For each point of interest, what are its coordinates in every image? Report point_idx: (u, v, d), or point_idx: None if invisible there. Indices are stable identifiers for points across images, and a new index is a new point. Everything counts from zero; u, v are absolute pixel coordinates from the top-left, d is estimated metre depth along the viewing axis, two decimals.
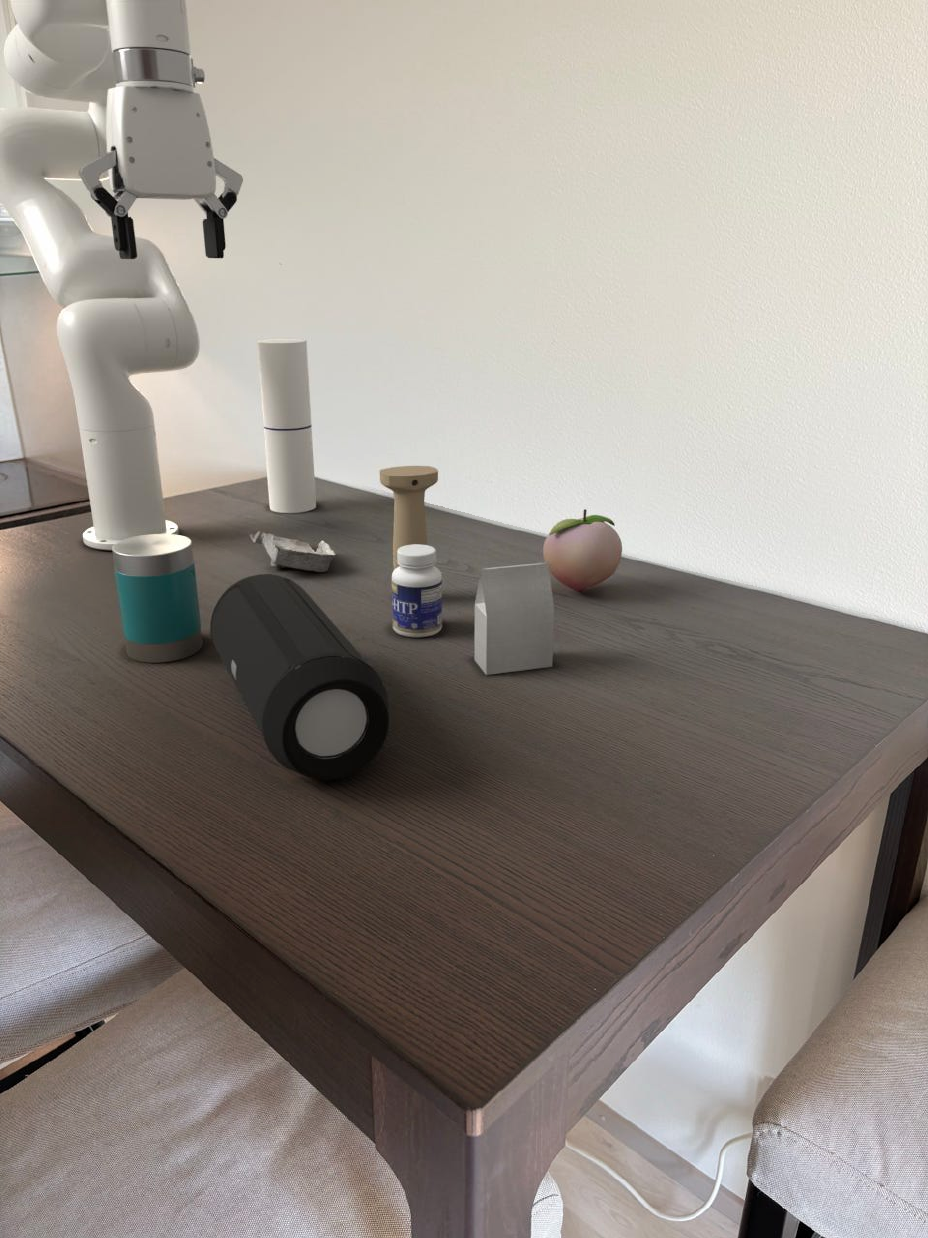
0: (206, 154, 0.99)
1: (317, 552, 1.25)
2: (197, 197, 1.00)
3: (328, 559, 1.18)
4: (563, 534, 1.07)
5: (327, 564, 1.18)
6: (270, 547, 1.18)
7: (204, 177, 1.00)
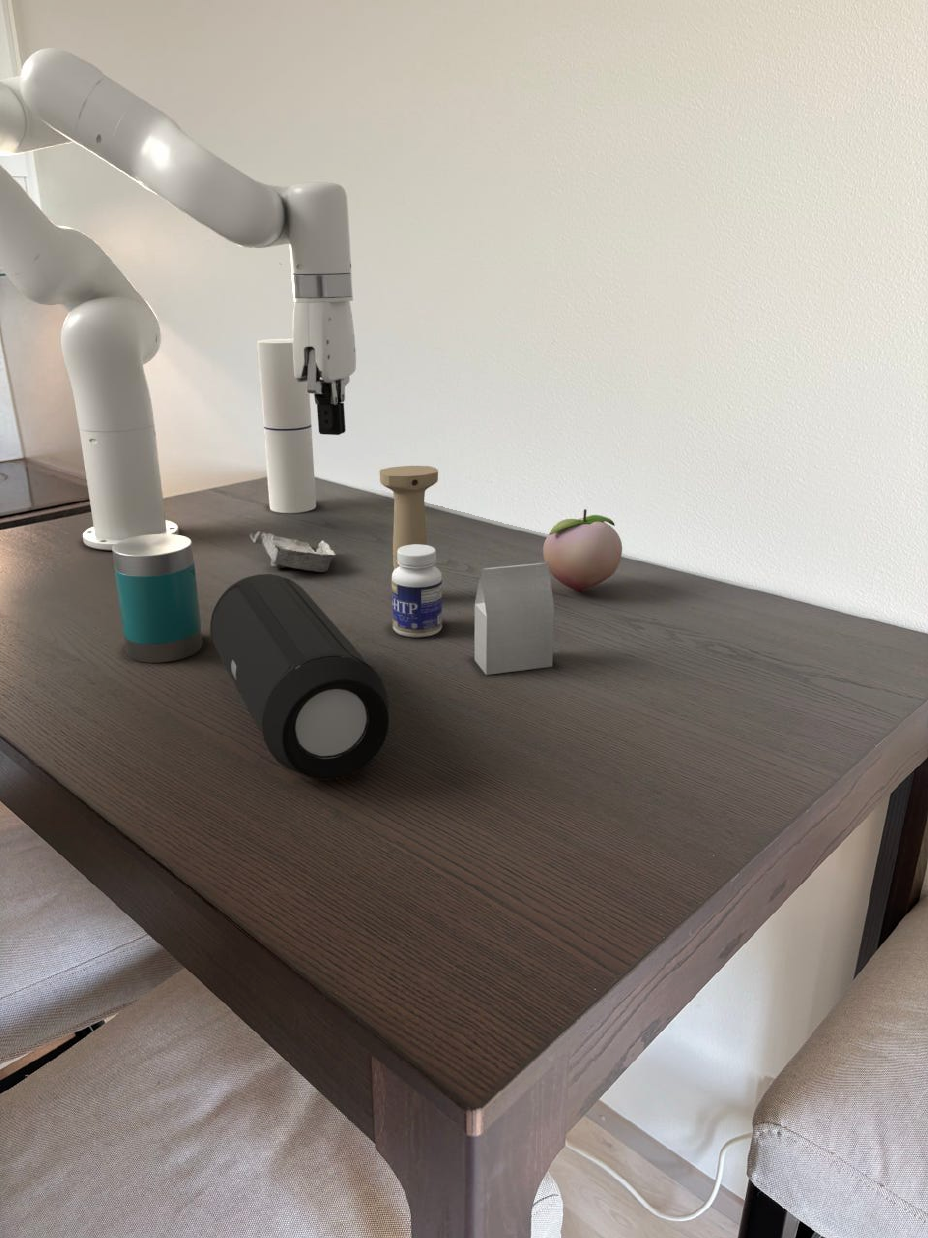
0: (354, 343, 1.27)
1: (317, 552, 1.25)
2: (348, 376, 1.27)
3: (328, 559, 1.18)
4: (563, 534, 1.07)
5: (327, 564, 1.18)
6: (270, 547, 1.18)
7: (353, 360, 1.27)
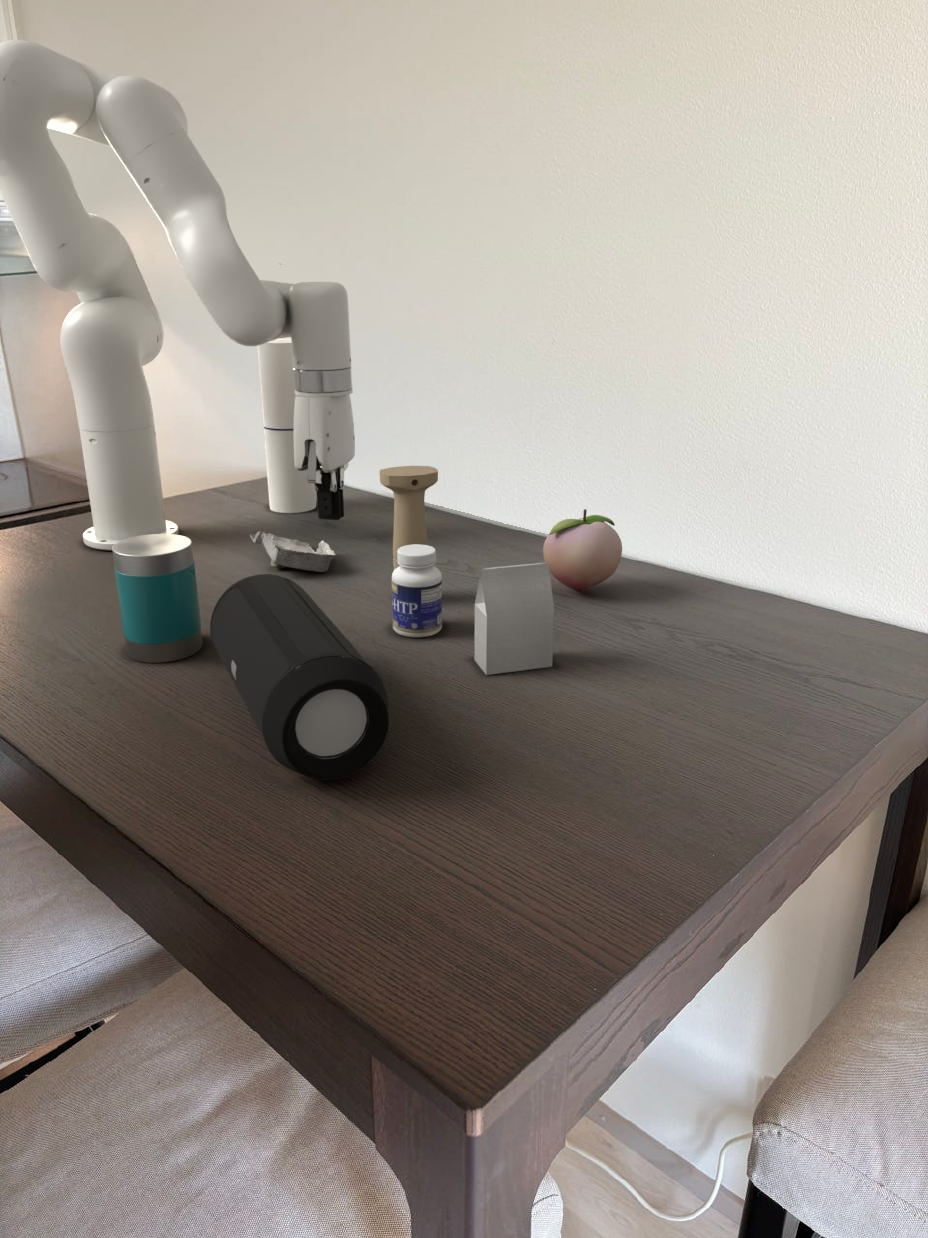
0: (353, 431, 1.30)
1: (317, 552, 1.25)
2: (347, 462, 1.31)
3: (328, 559, 1.18)
4: (563, 534, 1.07)
5: (327, 564, 1.18)
6: (270, 547, 1.18)
7: (352, 447, 1.30)
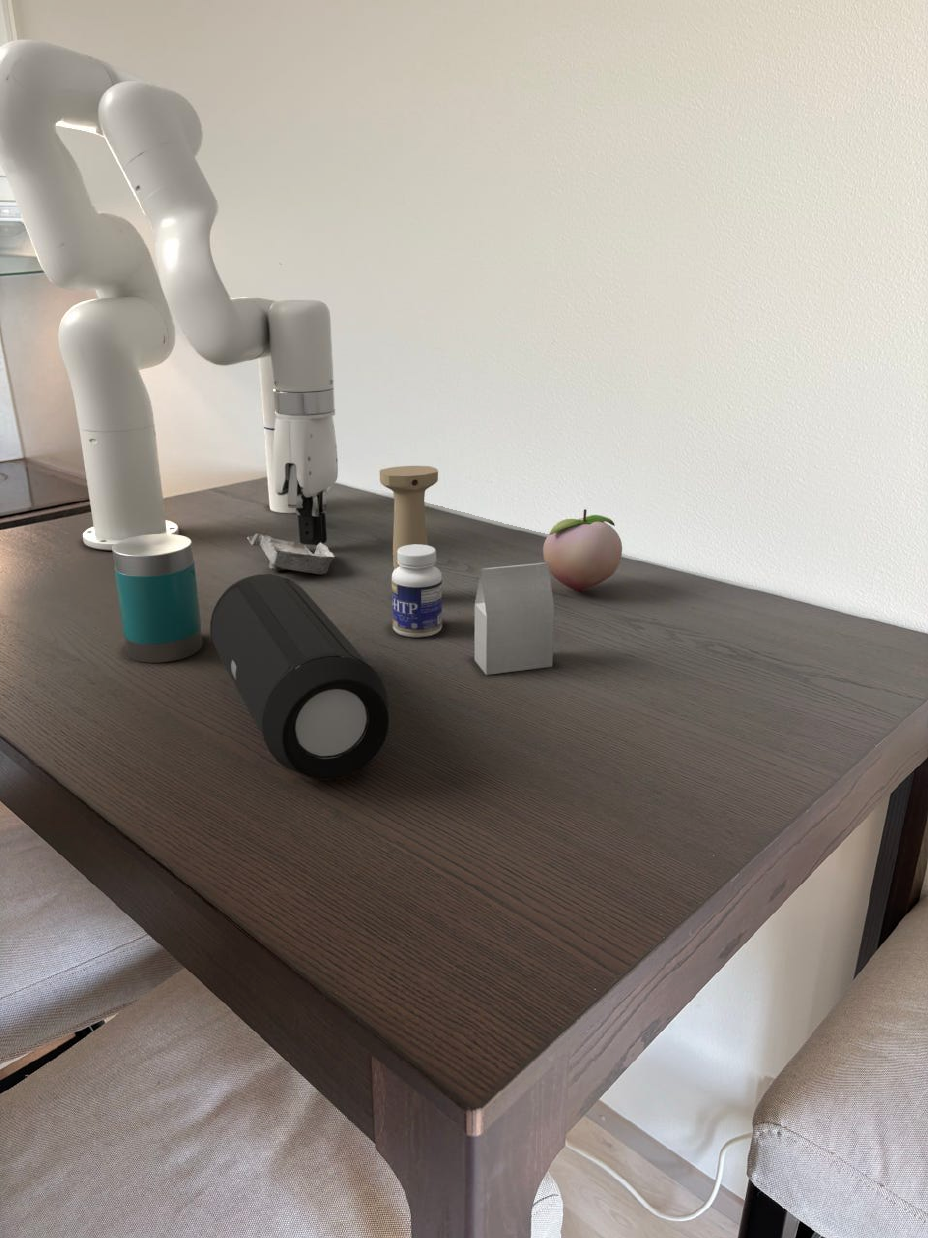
0: (336, 453, 1.26)
1: (315, 554, 1.24)
2: None
3: (327, 561, 1.17)
4: (563, 534, 1.07)
5: (326, 566, 1.18)
6: (269, 549, 1.17)
7: (335, 470, 1.26)
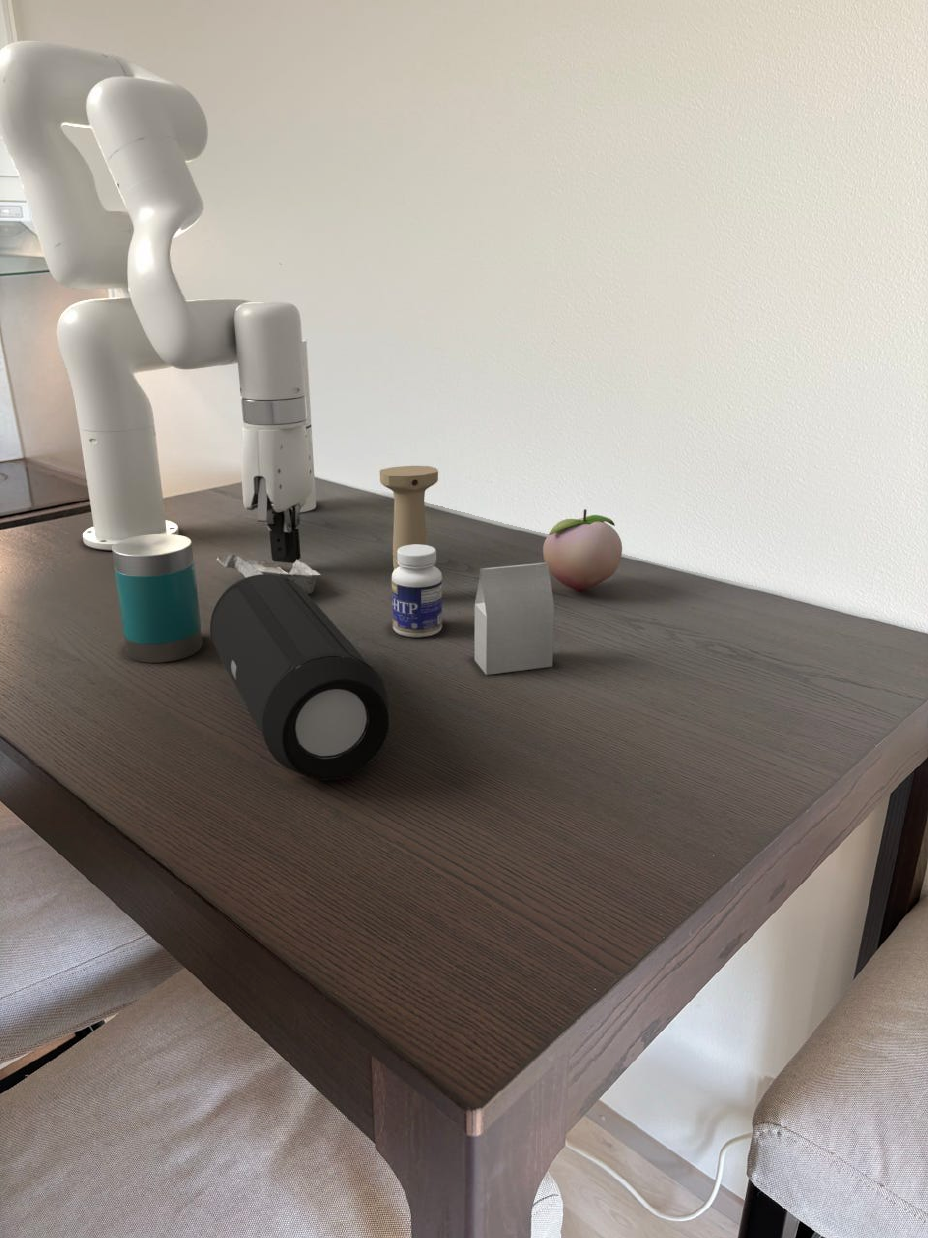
0: (309, 465, 1.18)
1: (292, 573, 1.17)
2: None
3: (314, 580, 1.11)
4: (563, 534, 1.07)
5: (313, 585, 1.11)
6: (250, 571, 1.09)
7: (309, 483, 1.18)
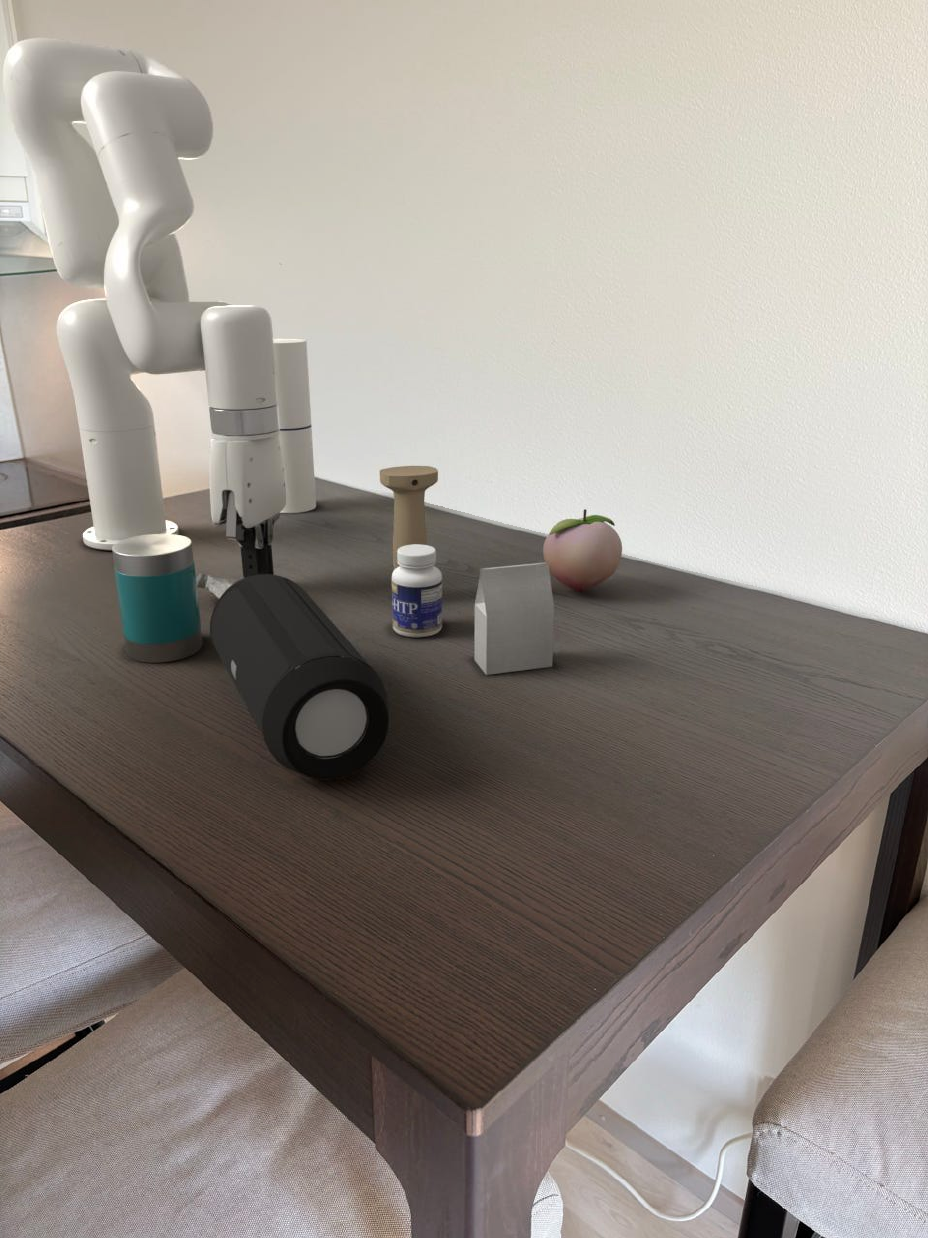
0: (283, 477, 1.12)
1: None
2: (276, 514, 1.12)
3: None
4: (563, 534, 1.07)
5: None
6: (223, 591, 1.03)
7: (282, 496, 1.12)
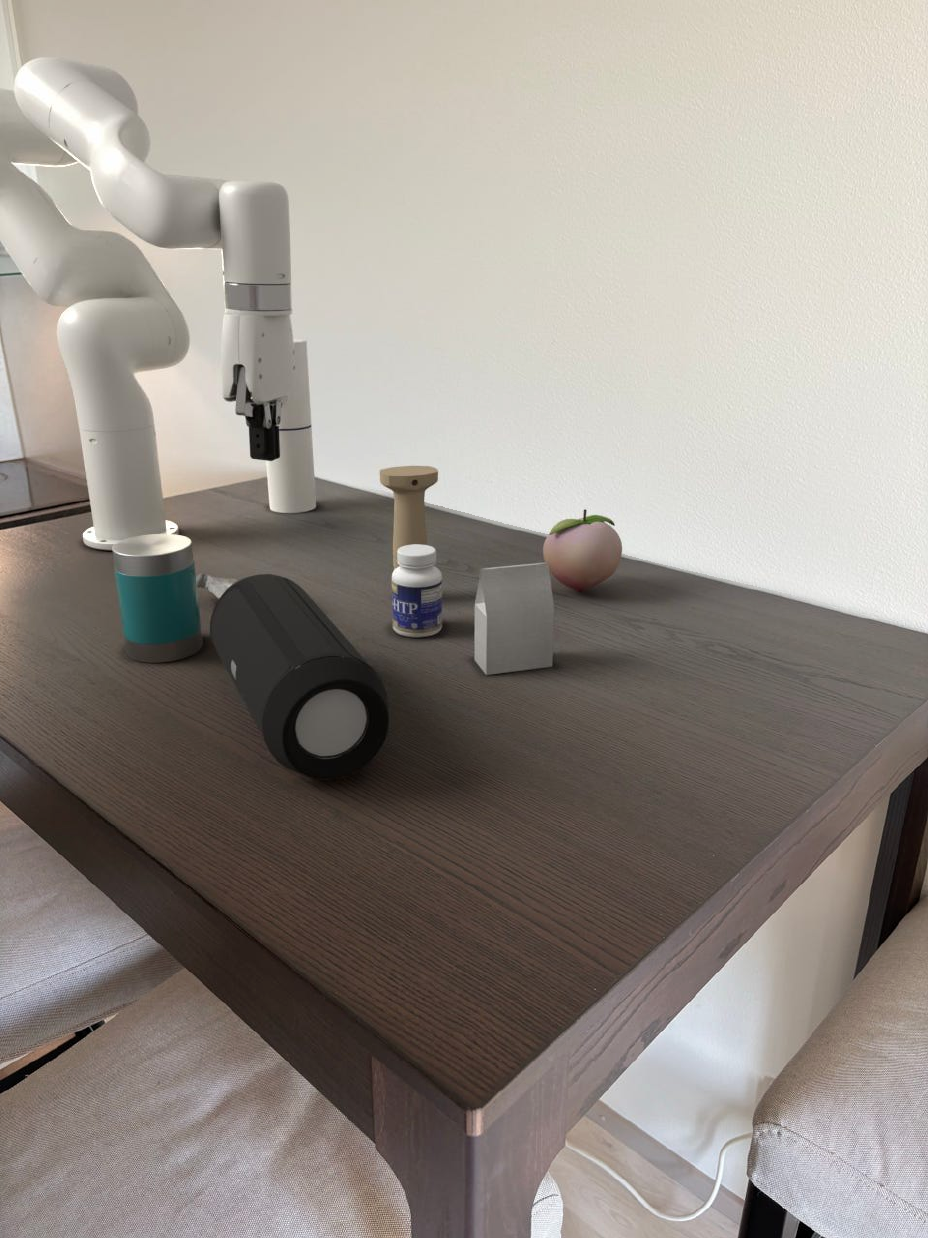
0: (293, 360, 1.14)
1: None
2: (285, 396, 1.15)
3: None
4: (563, 534, 1.07)
5: None
6: (223, 591, 1.03)
7: (291, 379, 1.15)
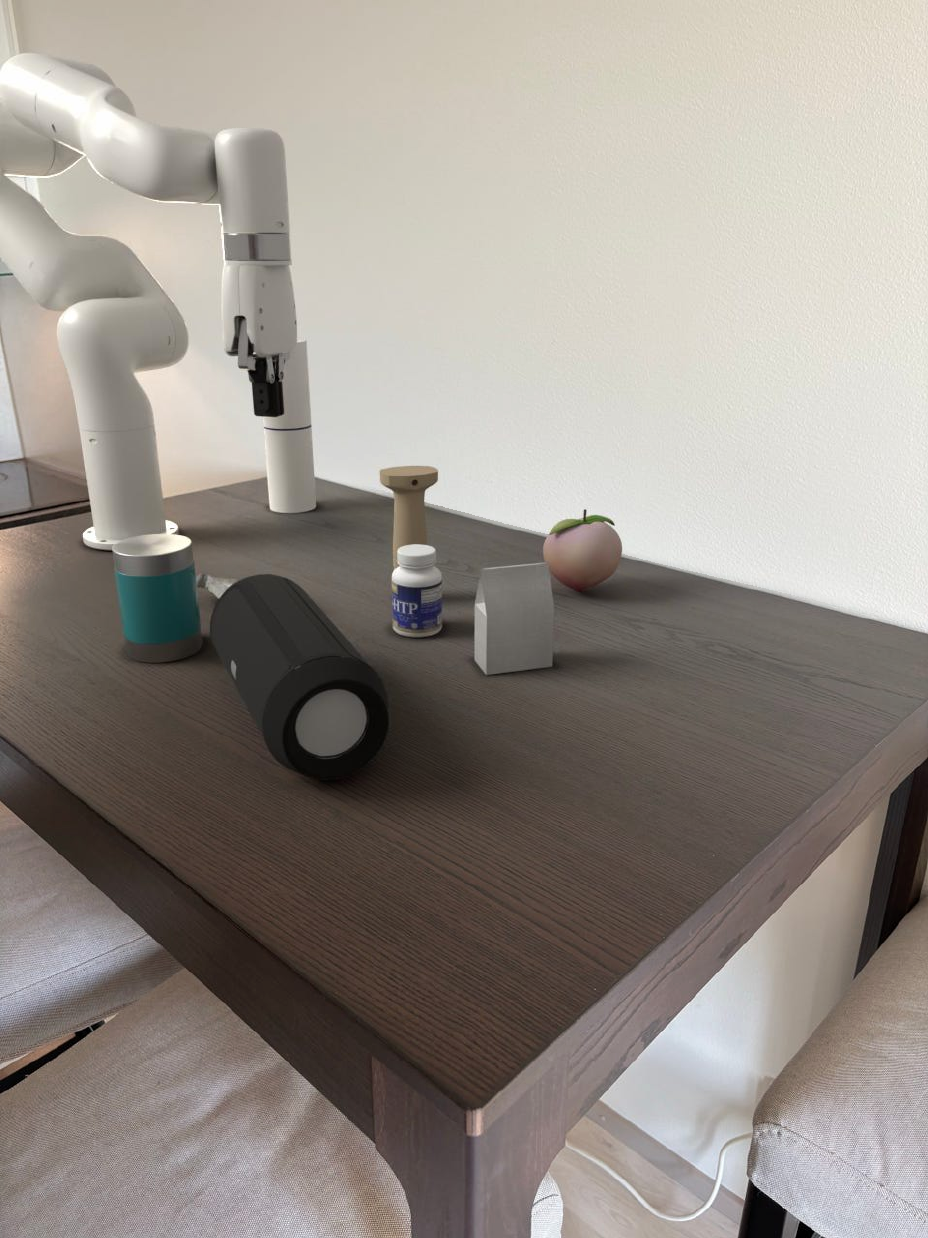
0: (294, 314, 1.13)
1: None
2: (287, 351, 1.14)
3: None
4: (563, 534, 1.07)
5: None
6: (223, 591, 1.03)
7: (293, 334, 1.13)
